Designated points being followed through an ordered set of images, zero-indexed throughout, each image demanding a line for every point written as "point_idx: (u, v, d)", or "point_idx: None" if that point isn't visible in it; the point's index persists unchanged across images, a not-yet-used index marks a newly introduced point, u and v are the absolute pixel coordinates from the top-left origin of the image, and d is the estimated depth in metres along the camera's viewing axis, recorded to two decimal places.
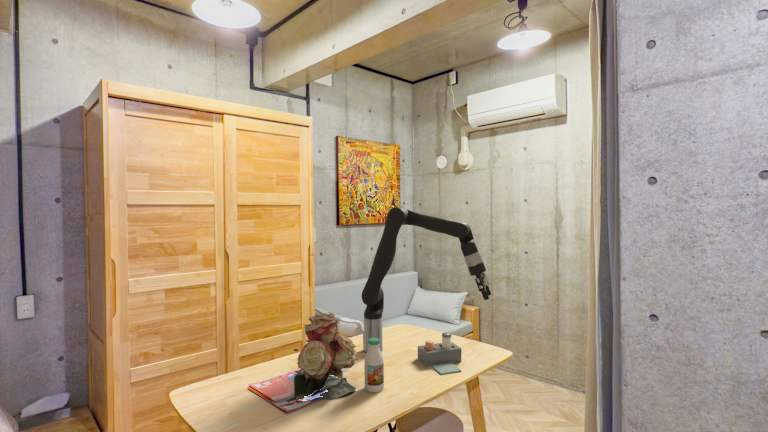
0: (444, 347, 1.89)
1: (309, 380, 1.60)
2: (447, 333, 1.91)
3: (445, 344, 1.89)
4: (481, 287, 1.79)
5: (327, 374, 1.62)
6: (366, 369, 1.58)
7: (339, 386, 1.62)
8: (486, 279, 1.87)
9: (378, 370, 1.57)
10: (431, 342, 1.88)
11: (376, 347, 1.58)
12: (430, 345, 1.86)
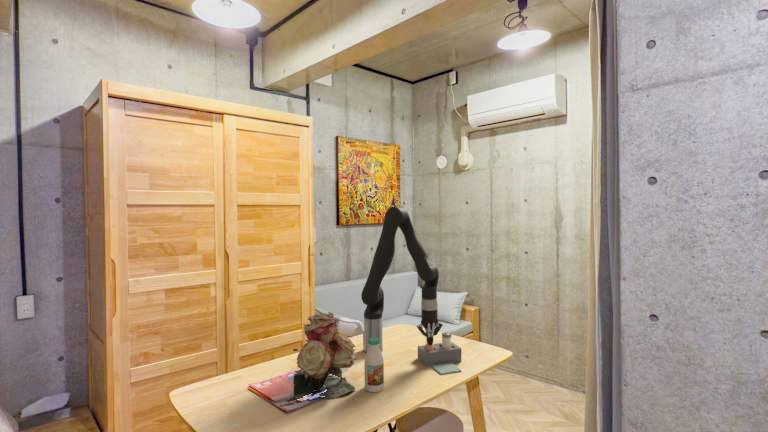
0: (444, 347, 1.89)
1: (308, 380, 1.60)
2: (447, 333, 1.91)
3: (445, 344, 1.89)
4: None
5: (326, 374, 1.63)
6: (366, 369, 1.58)
7: (338, 386, 1.63)
8: (437, 329, 1.88)
9: (378, 370, 1.57)
10: None
11: (376, 347, 1.58)
12: (430, 347, 1.86)
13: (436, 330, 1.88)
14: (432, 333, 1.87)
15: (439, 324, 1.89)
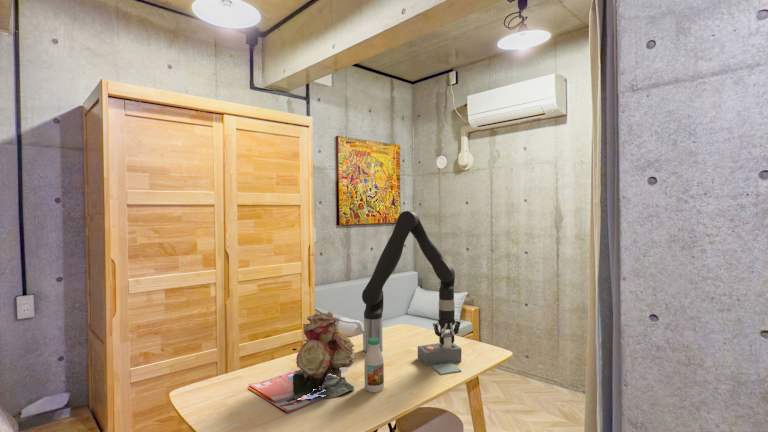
0: (444, 347, 1.89)
1: (308, 379, 1.61)
2: (447, 333, 1.91)
3: (445, 344, 1.89)
4: None
5: (326, 373, 1.63)
6: (366, 369, 1.58)
7: (337, 385, 1.63)
8: (457, 328, 1.91)
9: (378, 370, 1.57)
10: (431, 348, 1.88)
11: (376, 347, 1.58)
12: None
13: (456, 329, 1.91)
14: (452, 332, 1.91)
15: (457, 322, 1.92)
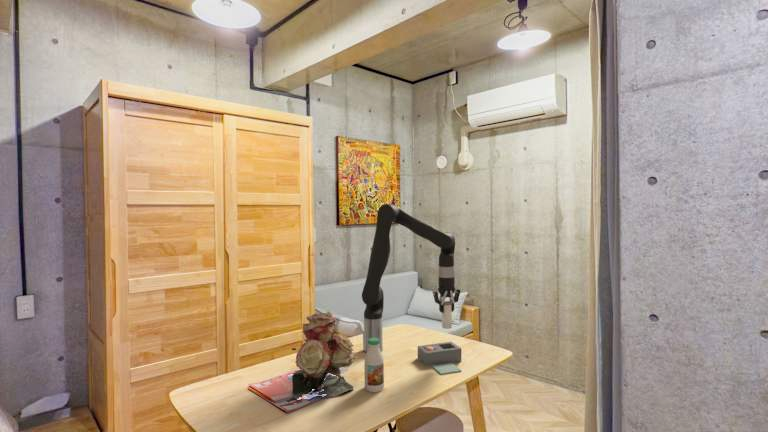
0: (444, 315, 1.86)
1: (307, 379, 1.61)
2: (447, 301, 1.88)
3: (445, 312, 1.86)
4: None
5: (325, 373, 1.64)
6: (366, 369, 1.58)
7: (337, 385, 1.64)
8: (457, 296, 1.88)
9: (378, 370, 1.57)
10: (431, 348, 1.88)
11: (376, 347, 1.58)
12: None
13: (456, 297, 1.88)
14: (452, 300, 1.87)
15: (457, 290, 1.89)
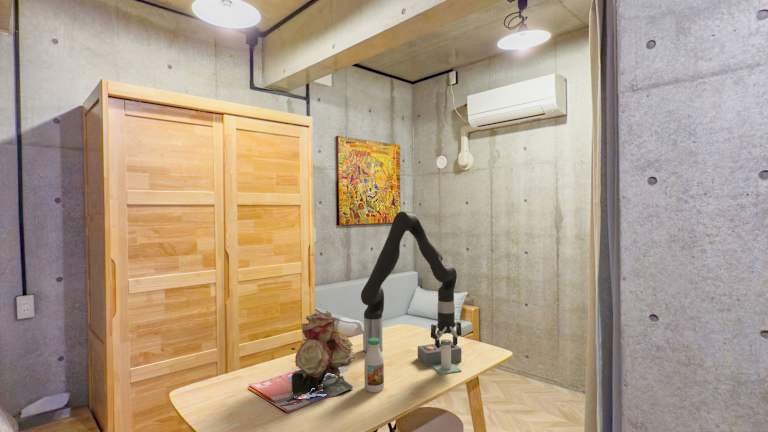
0: (443, 355, 1.77)
1: (306, 378, 1.61)
2: (446, 340, 1.79)
3: (444, 352, 1.77)
4: None
5: (324, 372, 1.64)
6: (366, 369, 1.58)
7: (336, 384, 1.64)
8: (459, 330, 1.79)
9: (378, 370, 1.57)
10: (431, 348, 1.88)
11: (376, 347, 1.58)
12: None
13: (458, 331, 1.79)
14: (455, 334, 1.79)
15: (457, 324, 1.80)
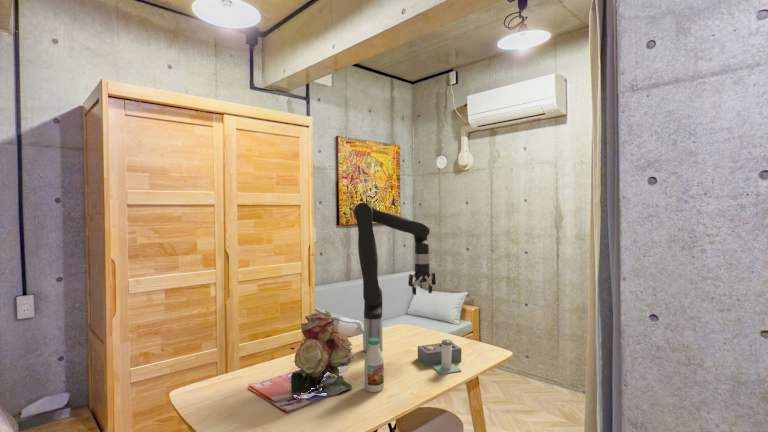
0: (444, 355, 1.77)
1: (306, 378, 1.62)
2: (447, 340, 1.79)
3: (445, 352, 1.76)
4: None
5: (323, 372, 1.64)
6: (366, 369, 1.58)
7: (335, 384, 1.65)
8: (433, 279, 2.06)
9: (378, 370, 1.57)
10: (431, 348, 1.88)
11: (376, 347, 1.59)
12: None
13: (433, 280, 2.06)
14: (430, 283, 2.05)
15: (432, 274, 2.06)
